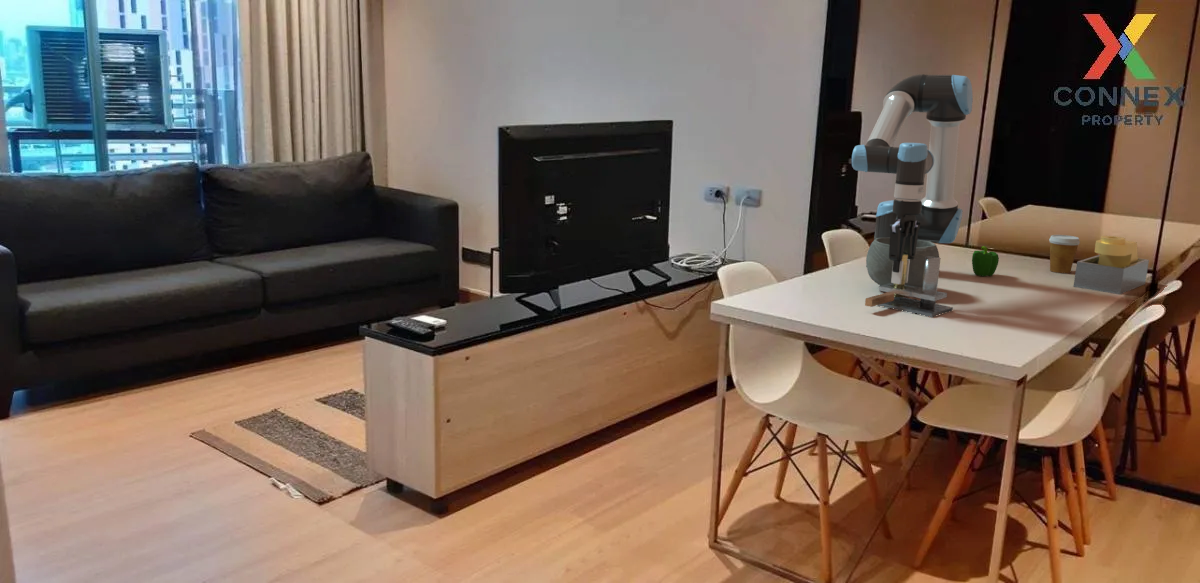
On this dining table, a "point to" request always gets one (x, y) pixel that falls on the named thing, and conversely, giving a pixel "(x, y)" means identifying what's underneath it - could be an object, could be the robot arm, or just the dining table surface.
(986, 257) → the bell pepper
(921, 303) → the grey lever block
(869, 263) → the bowl
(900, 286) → the gold rounded cylinder
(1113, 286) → the grey open-top box
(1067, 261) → the disposable coffee cup
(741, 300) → the dining table surface
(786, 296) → the dining table surface
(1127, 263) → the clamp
